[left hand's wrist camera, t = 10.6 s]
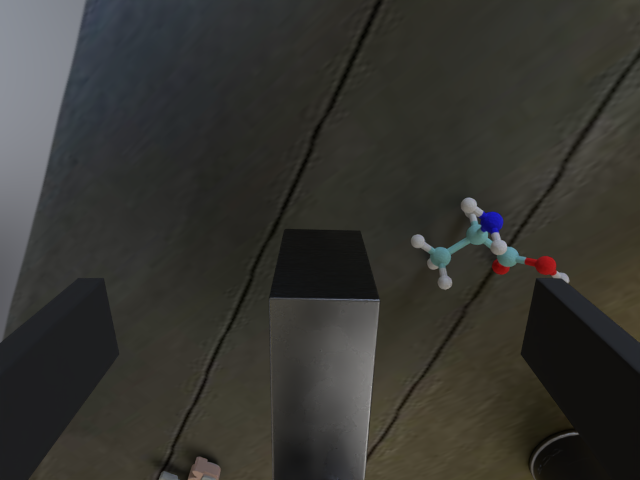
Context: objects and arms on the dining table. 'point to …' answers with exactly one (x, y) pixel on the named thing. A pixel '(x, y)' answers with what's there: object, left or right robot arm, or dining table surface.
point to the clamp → (197, 471)
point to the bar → (322, 355)
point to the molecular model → (480, 235)
